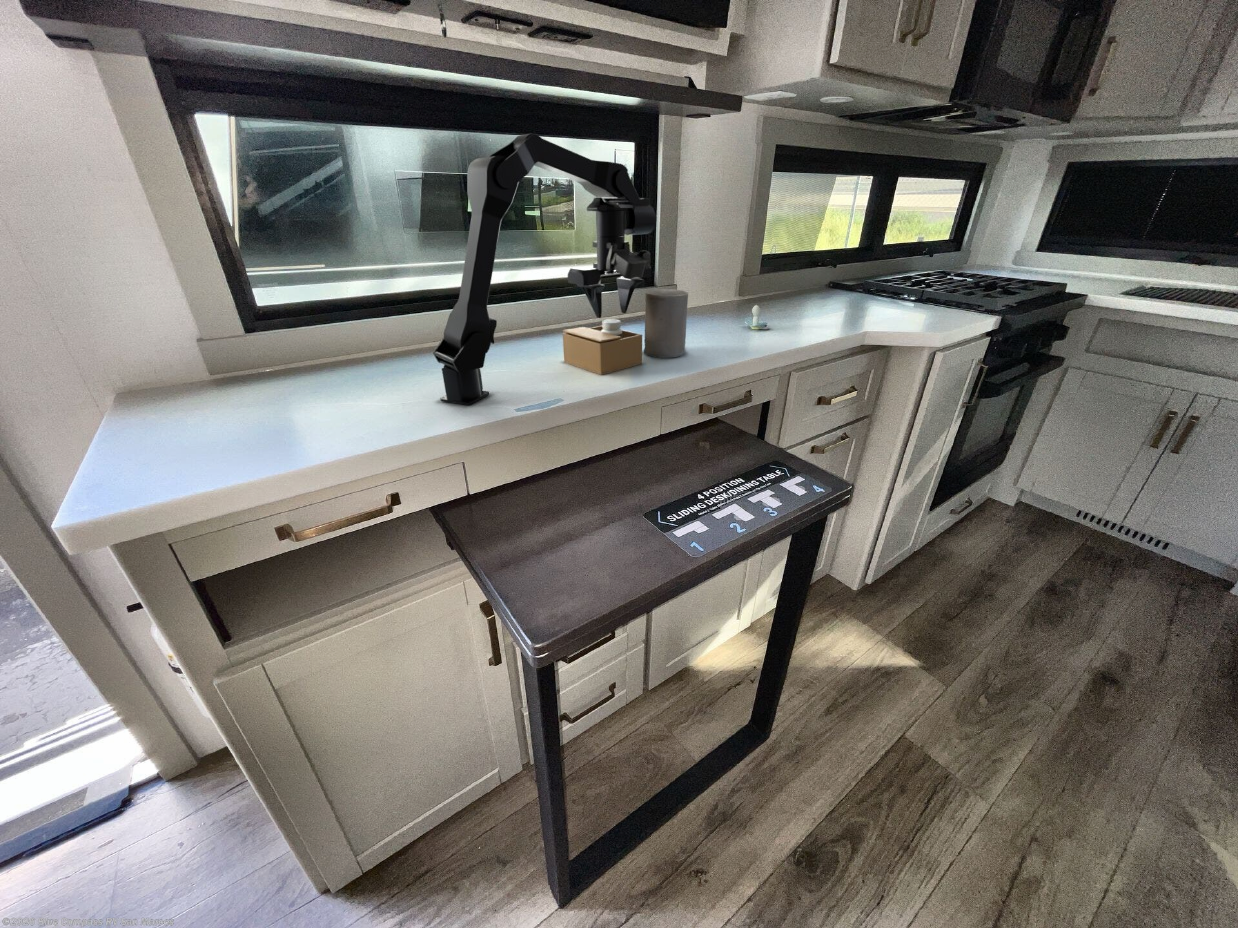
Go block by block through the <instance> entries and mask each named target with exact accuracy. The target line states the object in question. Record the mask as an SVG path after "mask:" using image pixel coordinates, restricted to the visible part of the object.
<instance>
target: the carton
mask: <svg viewBox="0 0 1238 928" xmlns="http://www.w3.org/2000/svg"><path fill="white" fill-rule="evenodd" d="M589 328H590V329H594V330H598V331H602V329H603V328H602V325H598V326H592V327H589ZM621 330H622V339H618V340H614V341H610V342H605V343H601V342H598V341H595V340H591V339H588V338H584V337H581V336H577V335H574V334H570V333H567V332H563V333H562V347H563V362H564V363H566V364H568V365H572V366H574V367H577V368H580V369H583V370H585V371H589V372H591V373H594V374H597V375H600V376H602V375H606V374H610V373H613V372H616V371H621V370H624V369H628V368H631V367H634V366H639V365H642V364H643V334H641V333H637V332H633V331H629V330H625V329H621Z"/></svg>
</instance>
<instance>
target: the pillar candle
mask: <svg viewBox="0 0 1238 928" xmlns="http://www.w3.org/2000/svg"><path fill="white" fill-rule="evenodd" d="M644 295H645V297H644V298H645V300H644V301H645V303H644V308H645V309H644V349H643V353H644V354H645V355H647V356H649V357H654V358H660V359H661V358H663V359H666V358H667V359H670V358H678V357H682V356H684V355H685V351H686V338H687V320H688V319H687V318H688V304H689V303H688V302H689V292H688V291H685V290H683V289H681V290H680V289H675V288H674V289H671V288H668V286H667V285H666V286H665V288H658V289H657V288H656V289H650V290H646V291H645V294H644Z"/></svg>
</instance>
